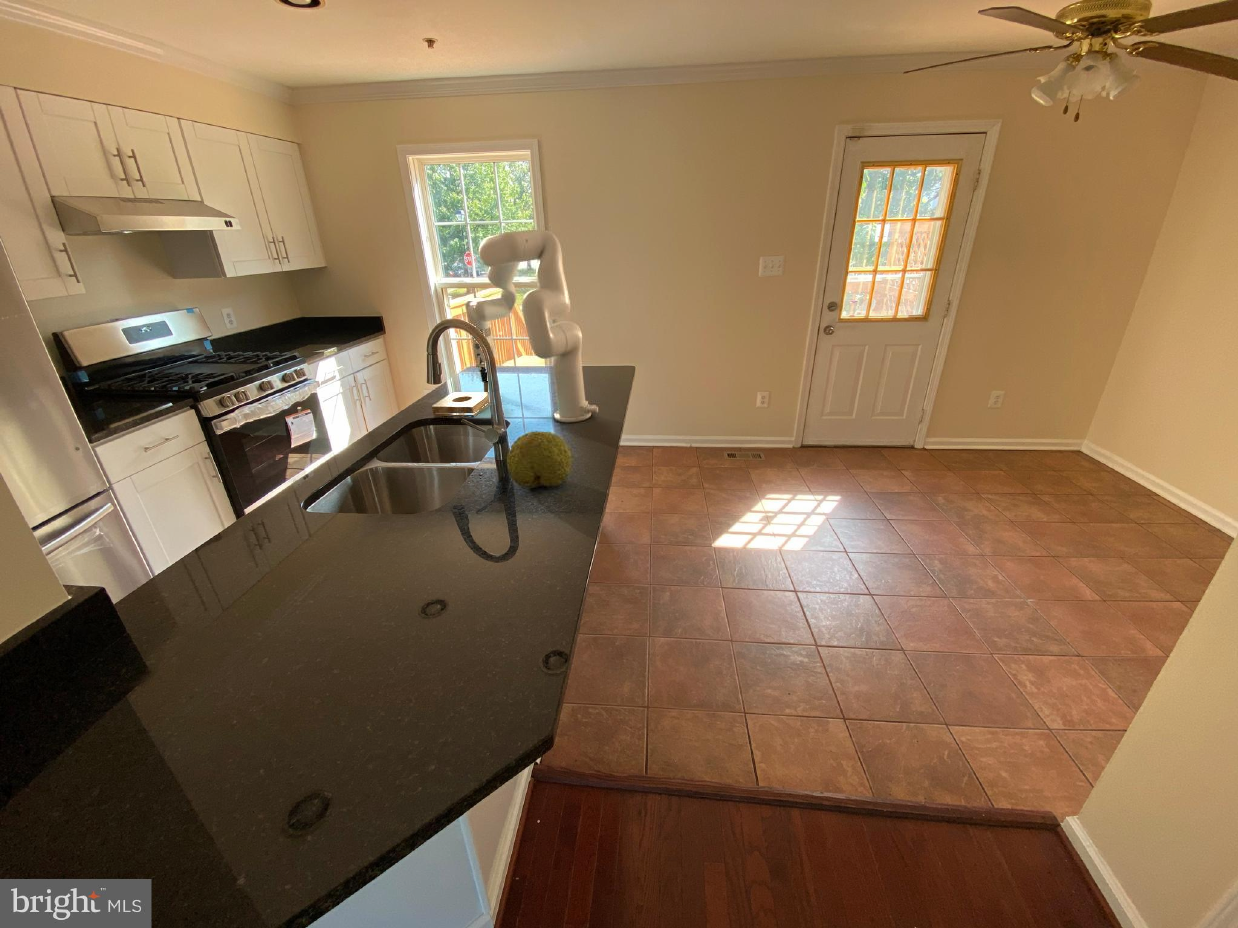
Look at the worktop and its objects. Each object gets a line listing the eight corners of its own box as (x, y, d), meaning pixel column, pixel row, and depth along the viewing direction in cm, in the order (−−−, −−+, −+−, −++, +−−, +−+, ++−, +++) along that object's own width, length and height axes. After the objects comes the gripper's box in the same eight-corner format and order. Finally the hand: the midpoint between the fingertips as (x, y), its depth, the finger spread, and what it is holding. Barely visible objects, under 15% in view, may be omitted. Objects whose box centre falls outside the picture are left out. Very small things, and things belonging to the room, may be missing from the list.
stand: (493, 402, 191) (491, 392, 189) (474, 417, 177) (472, 406, 175) (455, 402, 194) (453, 392, 192) (433, 416, 180) (431, 406, 178)
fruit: (520, 506, 118) (490, 449, 116) (526, 497, 132) (500, 446, 131) (581, 475, 119) (553, 418, 117) (581, 470, 133) (555, 419, 131)
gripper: (480, 337, 179) (489, 386, 187) (499, 328, 194) (507, 373, 202) (461, 338, 181) (470, 386, 189) (481, 328, 196) (490, 373, 204)
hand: (489, 379), depth 196 cm, fingers closed on cork, 5 cm apart
